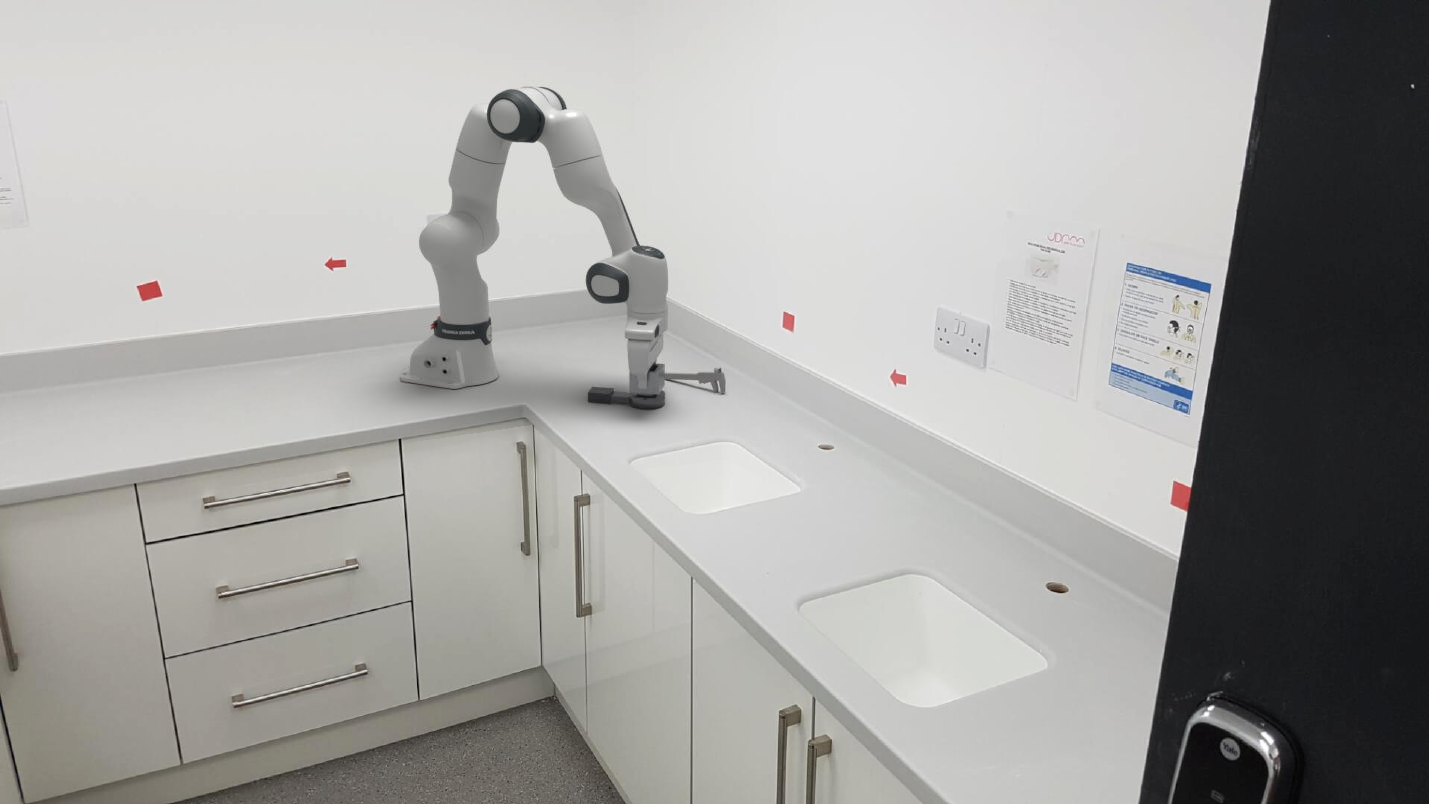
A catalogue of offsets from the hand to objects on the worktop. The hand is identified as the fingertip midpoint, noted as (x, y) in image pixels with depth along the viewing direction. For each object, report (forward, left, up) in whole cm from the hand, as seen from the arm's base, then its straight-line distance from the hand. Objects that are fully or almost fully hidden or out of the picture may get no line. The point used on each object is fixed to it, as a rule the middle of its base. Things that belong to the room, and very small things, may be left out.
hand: (646, 382), depth 242 cm
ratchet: (-4, 0, -5) cm, 7 cm away
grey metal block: (0, 0, -2) cm, 2 cm away
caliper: (+7, +15, -6) cm, 17 cm away
